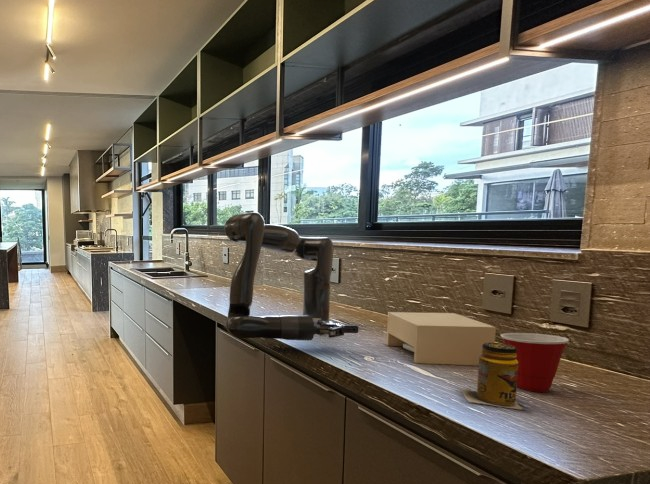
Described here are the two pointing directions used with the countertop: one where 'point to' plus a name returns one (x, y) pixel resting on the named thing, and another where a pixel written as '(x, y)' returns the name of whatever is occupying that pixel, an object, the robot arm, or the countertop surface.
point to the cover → (440, 336)
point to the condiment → (496, 376)
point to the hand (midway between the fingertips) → (357, 329)
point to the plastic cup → (536, 358)
